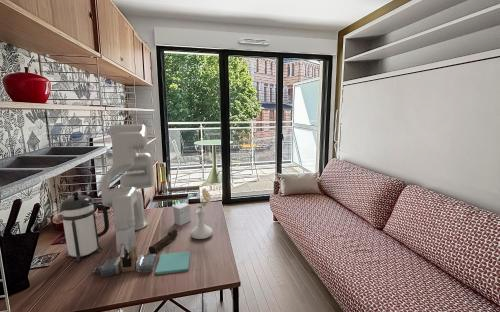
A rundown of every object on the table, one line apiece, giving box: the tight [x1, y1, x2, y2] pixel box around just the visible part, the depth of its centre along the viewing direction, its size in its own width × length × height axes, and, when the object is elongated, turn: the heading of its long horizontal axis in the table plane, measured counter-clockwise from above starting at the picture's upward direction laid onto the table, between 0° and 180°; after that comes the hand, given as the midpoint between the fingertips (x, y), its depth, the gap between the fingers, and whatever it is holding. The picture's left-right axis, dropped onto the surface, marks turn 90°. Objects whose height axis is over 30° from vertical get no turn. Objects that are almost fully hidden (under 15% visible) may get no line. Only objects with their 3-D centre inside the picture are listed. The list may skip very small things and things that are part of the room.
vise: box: [92, 253, 158, 277], centre depth 107 cm, size 8×23×4 cm, turn 99°
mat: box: [154, 251, 191, 275], centre depth 110 cm, size 13×13×1 cm
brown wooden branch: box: [148, 228, 178, 254], centre depth 125 cm, size 19×4×5 cm, turn 156°
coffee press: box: [57, 191, 110, 263], centre depth 117 cm, size 17×16×30 cm
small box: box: [173, 202, 192, 226], centre depth 149 cm, size 8×6×10 cm
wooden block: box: [119, 243, 138, 273], centre depth 106 cm, size 5×5×9 cm
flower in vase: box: [190, 188, 213, 240], centre depth 132 cm, size 13×11×25 cm
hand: (129, 262), depth 107 cm, fingers closed on wooden block, 5 cm apart
